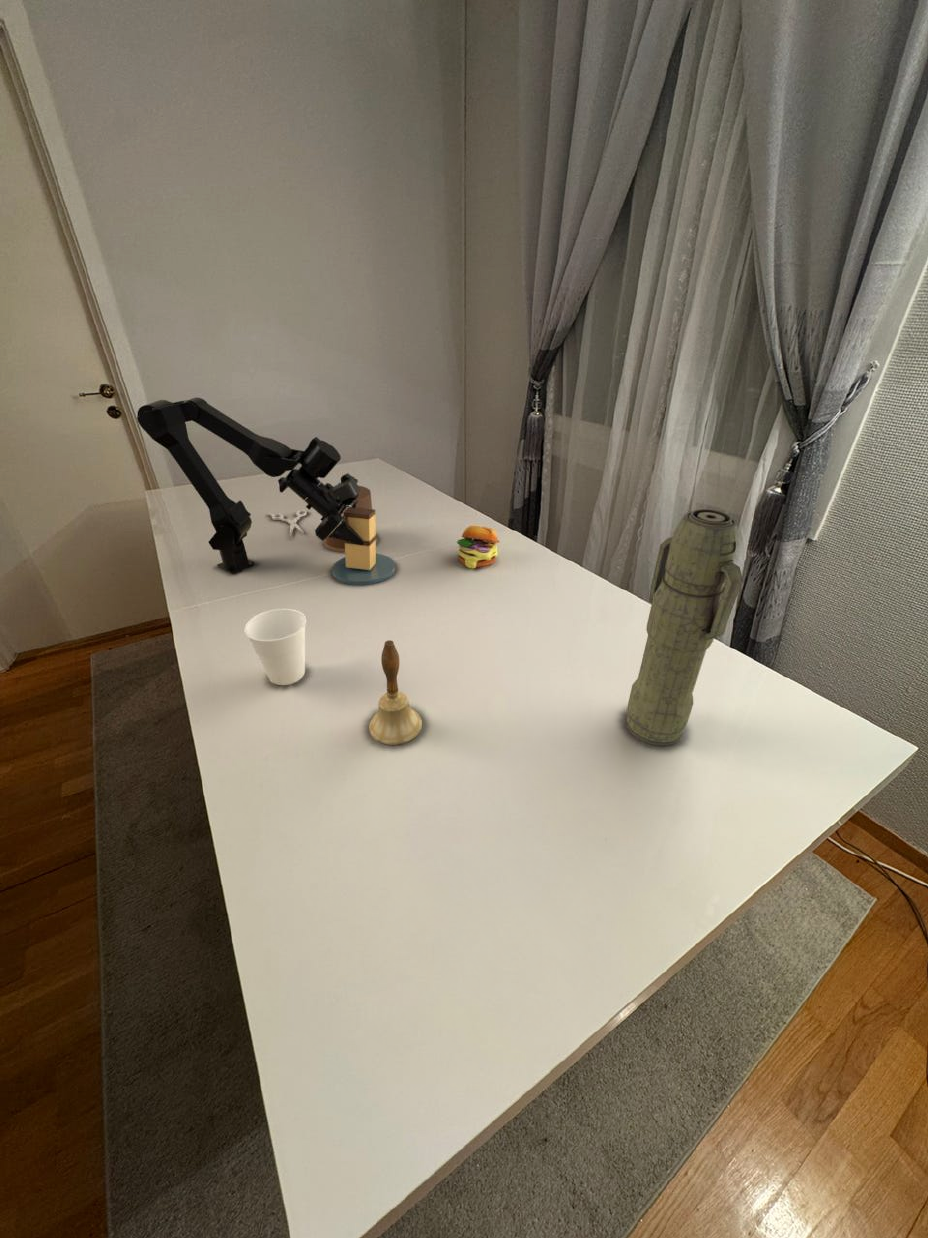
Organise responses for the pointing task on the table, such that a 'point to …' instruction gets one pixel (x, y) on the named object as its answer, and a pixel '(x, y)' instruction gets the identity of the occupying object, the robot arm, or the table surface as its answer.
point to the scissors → (292, 522)
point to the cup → (279, 643)
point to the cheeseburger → (478, 546)
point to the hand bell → (393, 706)
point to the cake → (363, 502)
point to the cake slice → (366, 529)
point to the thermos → (683, 622)
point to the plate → (364, 571)
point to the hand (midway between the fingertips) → (366, 538)
